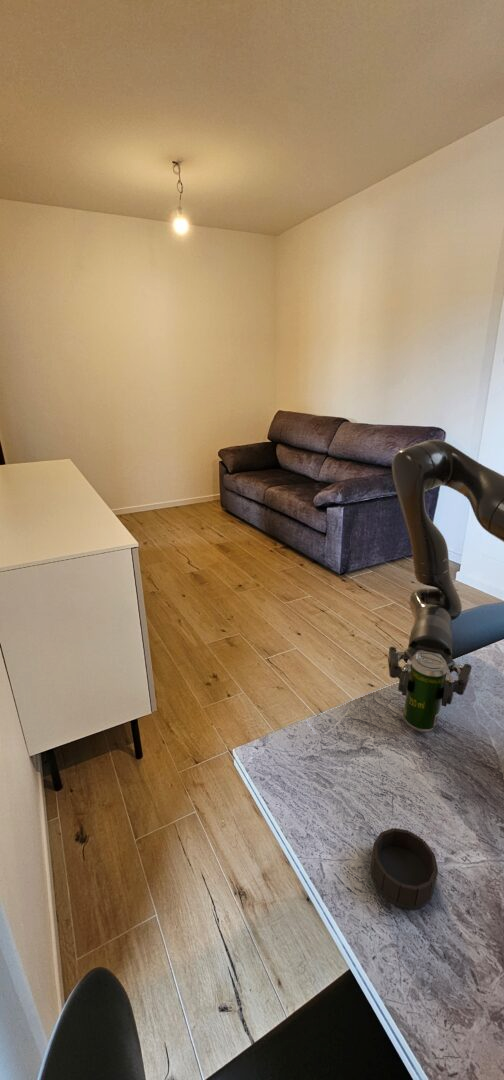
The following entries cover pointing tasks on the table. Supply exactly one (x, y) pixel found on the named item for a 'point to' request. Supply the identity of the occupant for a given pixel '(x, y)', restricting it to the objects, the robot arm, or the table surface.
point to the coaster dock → (403, 868)
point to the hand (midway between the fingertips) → (424, 696)
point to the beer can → (425, 691)
